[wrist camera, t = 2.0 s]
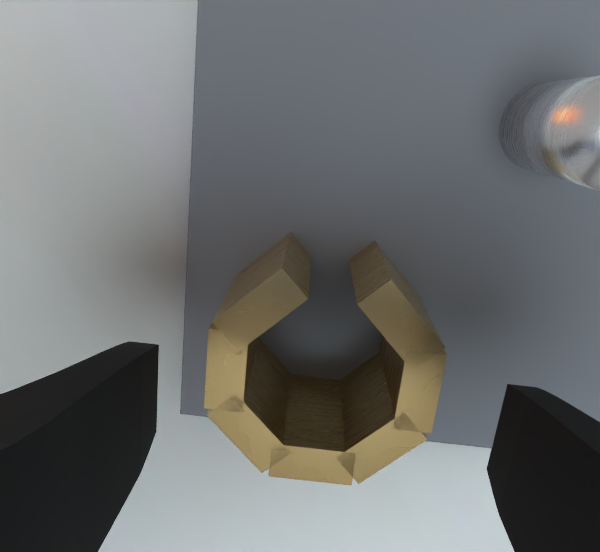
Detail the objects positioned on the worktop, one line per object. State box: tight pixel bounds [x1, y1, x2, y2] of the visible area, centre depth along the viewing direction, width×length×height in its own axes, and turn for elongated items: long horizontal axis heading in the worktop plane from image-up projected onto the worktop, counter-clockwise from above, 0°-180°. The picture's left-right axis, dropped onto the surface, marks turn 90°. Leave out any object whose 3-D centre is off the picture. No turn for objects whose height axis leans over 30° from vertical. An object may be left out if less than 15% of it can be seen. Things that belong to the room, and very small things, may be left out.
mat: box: [180, 0, 600, 448], centre depth 15 cm, size 15×13×1 cm
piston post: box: [499, 76, 600, 191], centre depth 12 cm, size 2×2×4 cm
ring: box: [204, 232, 447, 485], centre depth 14 cm, size 5×5×4 cm
